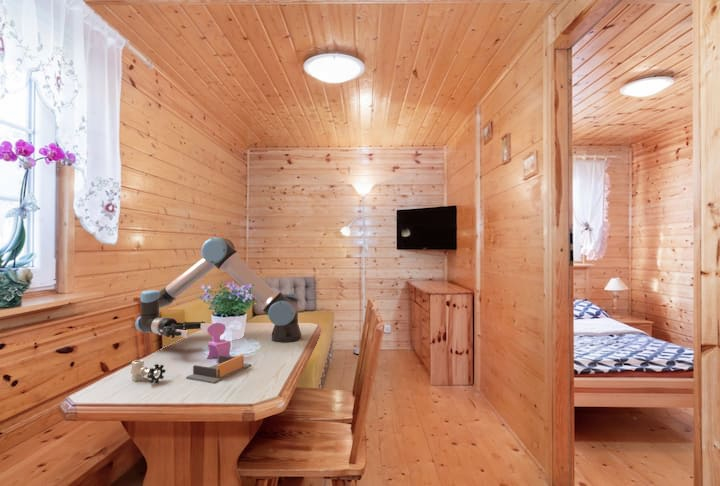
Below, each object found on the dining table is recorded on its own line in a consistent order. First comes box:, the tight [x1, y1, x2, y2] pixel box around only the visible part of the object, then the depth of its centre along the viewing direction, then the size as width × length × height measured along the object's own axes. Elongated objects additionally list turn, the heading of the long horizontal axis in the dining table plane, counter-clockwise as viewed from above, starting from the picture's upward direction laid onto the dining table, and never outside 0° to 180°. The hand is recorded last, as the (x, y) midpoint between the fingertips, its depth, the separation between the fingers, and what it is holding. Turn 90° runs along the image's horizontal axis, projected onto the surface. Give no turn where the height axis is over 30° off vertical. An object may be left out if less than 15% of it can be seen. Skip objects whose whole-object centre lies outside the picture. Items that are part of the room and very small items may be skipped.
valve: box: [130, 359, 166, 384], centre depth 130 cm, size 7×7×12 cm
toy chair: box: [206, 322, 232, 364], centre depth 155 cm, size 8×9×15 cm
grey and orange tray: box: [185, 354, 252, 384], centre depth 139 cm, size 20×13×5 cm, turn 158°
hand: (200, 330), depth 158 cm, fingers open, 13 cm apart
